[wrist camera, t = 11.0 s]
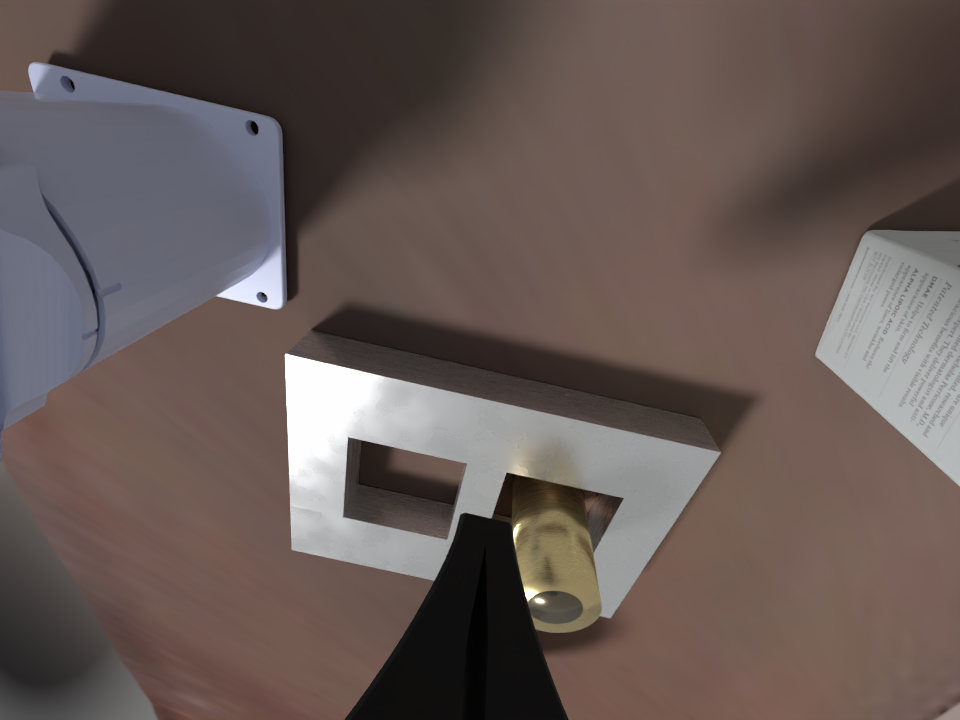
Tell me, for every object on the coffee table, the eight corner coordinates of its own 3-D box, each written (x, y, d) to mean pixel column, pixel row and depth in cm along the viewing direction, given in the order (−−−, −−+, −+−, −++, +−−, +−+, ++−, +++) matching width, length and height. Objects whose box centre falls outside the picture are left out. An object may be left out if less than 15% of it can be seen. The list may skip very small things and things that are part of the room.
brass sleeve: (505, 502, 25) (499, 622, 19) (523, 454, 23) (523, 571, 17) (569, 517, 26) (583, 641, 19) (592, 470, 24) (616, 592, 18)
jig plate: (310, 516, 28) (291, 549, 26) (310, 329, 21) (285, 354, 19) (603, 580, 28) (610, 618, 26) (701, 418, 21) (721, 452, 19)
